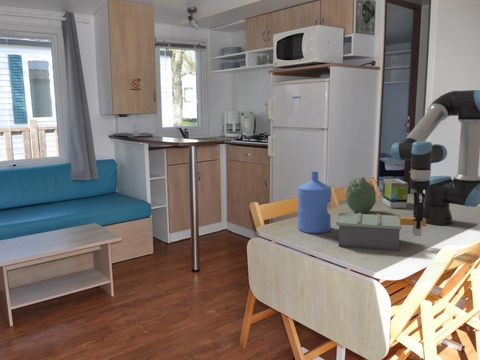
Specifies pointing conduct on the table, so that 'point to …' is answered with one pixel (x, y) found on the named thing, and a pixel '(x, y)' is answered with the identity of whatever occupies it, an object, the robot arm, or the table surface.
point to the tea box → (395, 193)
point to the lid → (375, 221)
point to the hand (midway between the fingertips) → (416, 234)
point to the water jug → (314, 206)
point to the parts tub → (369, 238)
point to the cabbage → (360, 195)
